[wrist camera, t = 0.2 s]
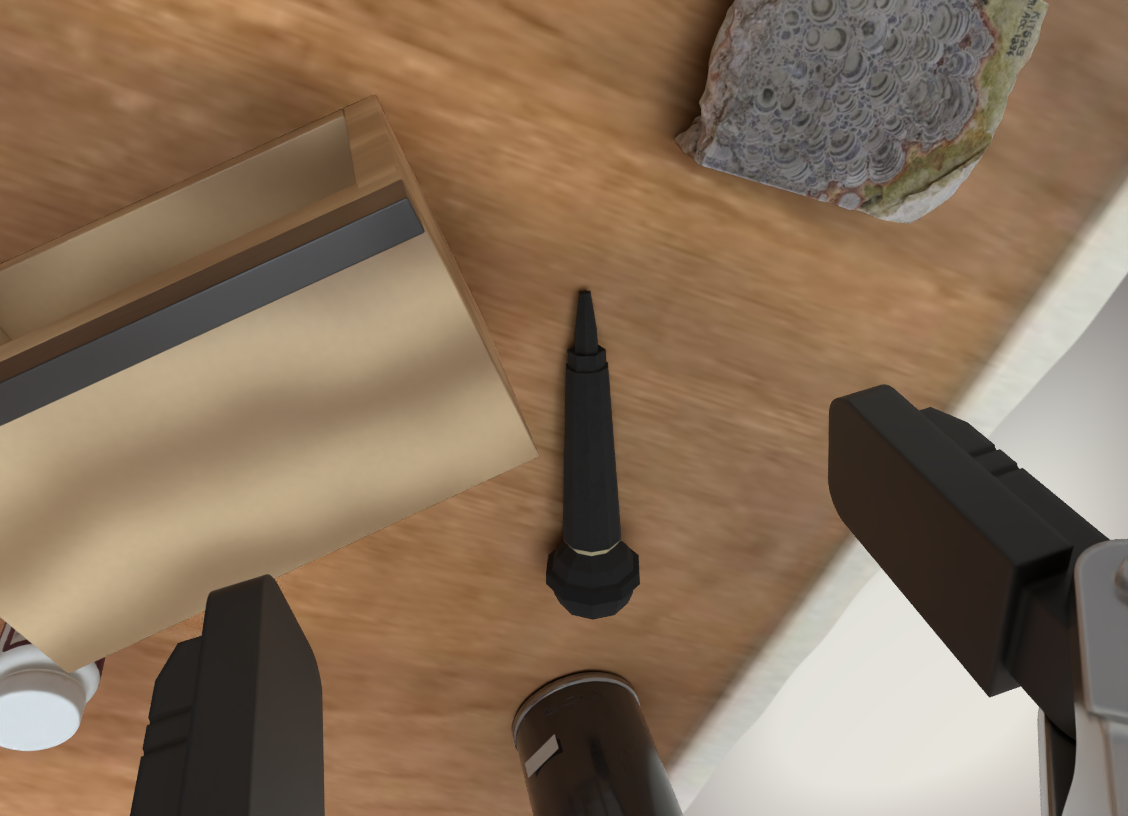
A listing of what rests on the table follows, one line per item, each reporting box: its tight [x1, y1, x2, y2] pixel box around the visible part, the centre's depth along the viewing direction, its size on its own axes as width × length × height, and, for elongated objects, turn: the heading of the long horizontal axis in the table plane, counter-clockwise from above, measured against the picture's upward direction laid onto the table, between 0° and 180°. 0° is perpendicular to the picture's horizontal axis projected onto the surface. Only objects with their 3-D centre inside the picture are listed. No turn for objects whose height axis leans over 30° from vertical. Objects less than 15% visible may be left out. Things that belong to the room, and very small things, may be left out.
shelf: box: [0, 95, 539, 673], centre depth 33 cm, size 12×20×14 cm, turn 110°
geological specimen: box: [674, 0, 1049, 224], centre depth 38 cm, size 11×6×15 cm
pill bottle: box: [0, 622, 105, 751], centre depth 41 cm, size 5×5×8 cm
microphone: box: [546, 290, 640, 619], centre depth 46 cm, size 6×6×20 cm
